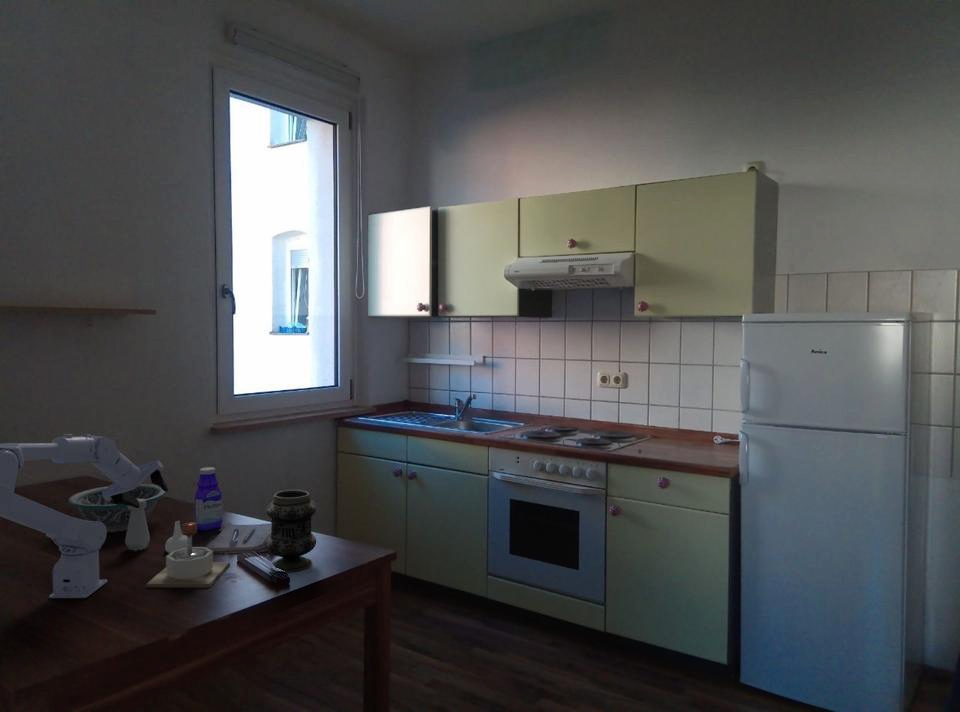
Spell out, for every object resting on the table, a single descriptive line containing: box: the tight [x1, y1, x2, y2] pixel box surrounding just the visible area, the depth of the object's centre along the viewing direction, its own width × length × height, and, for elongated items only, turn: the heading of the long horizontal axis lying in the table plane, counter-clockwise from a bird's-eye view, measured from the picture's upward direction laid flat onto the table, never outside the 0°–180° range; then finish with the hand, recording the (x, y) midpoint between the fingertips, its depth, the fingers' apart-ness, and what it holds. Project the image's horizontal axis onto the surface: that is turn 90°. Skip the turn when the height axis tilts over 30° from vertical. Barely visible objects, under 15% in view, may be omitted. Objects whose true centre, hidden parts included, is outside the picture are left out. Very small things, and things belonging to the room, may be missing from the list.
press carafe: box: [165, 546, 214, 580], centre depth 163 cm, size 9×9×4 cm
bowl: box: [67, 483, 167, 533], centre depth 200 cm, size 25×25×10 cm
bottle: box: [194, 466, 223, 532], centre depth 199 cm, size 7×6×17 cm
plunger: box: [175, 521, 204, 559], centre depth 163 cm, size 6×6×8 cm
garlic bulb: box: [164, 520, 187, 554], centre depth 181 cm, size 6×6×8 cm
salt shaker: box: [124, 499, 151, 552], centre depth 181 cm, size 6×6×13 cm
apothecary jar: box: [265, 489, 317, 573], centre depth 170 cm, size 12×12×18 cm
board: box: [146, 561, 231, 588], centre depth 163 cm, size 14×14×1 cm
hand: (152, 496), depth 174 cm, fingers open, 7 cm apart
